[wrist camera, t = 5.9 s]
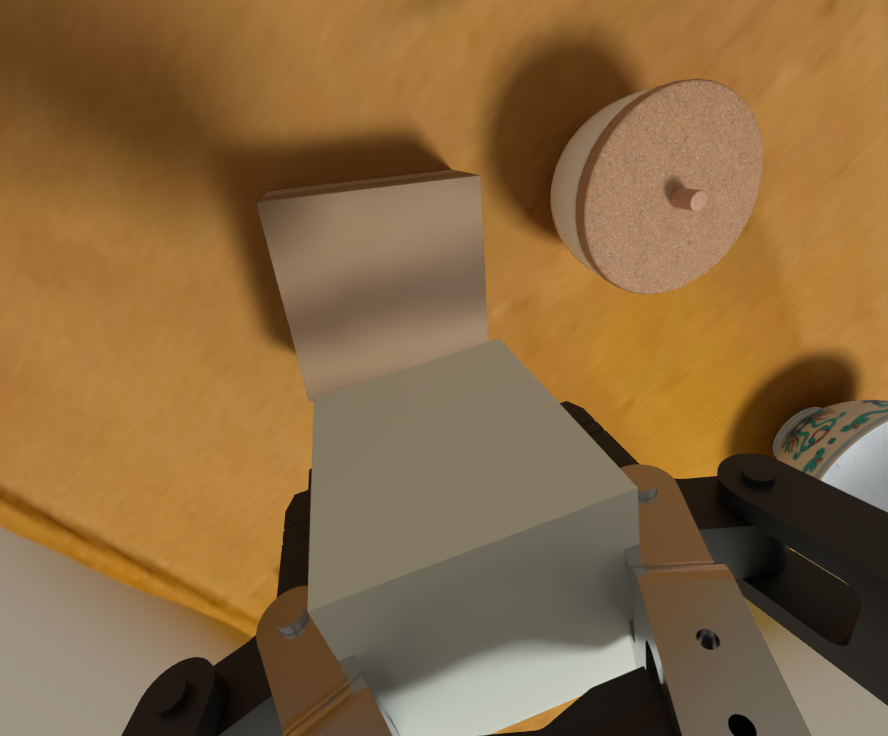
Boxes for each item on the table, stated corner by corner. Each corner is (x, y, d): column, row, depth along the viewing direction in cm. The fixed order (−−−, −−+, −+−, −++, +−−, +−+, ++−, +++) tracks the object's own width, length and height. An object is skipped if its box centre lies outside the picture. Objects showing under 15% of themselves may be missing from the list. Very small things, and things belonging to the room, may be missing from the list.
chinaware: (749, 511, 52) (812, 566, 45) (725, 425, 44) (797, 475, 38) (864, 441, 51) (946, 487, 45) (860, 342, 44) (957, 378, 37)
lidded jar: (543, 286, 33) (617, 334, 25) (506, 130, 28) (584, 124, 20) (674, 231, 34) (787, 259, 26) (662, 67, 28) (800, 37, 20)
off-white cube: (313, 398, 11) (307, 611, 6) (499, 338, 12) (638, 487, 7) (373, 533, 14) (405, 769, 9) (526, 478, 14) (644, 669, 9)
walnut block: (268, 190, 26) (255, 202, 21) (450, 169, 28) (480, 175, 23) (310, 358, 32) (309, 401, 26) (462, 331, 33) (489, 366, 28)
